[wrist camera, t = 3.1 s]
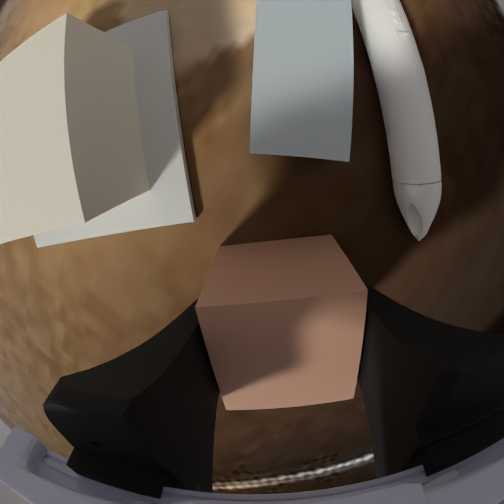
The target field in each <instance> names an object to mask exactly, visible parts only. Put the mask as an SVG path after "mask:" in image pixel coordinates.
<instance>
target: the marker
mask: <svg viewBox="0 0 504 504" xmlns="http://www.w3.org/2000/svg"><path fill="white" fill-rule="evenodd" d="M351 7H352V9H353V12H354V14H355V17H356V20H357V23H358V25H359V28H360V31H361V34H362V37H363V40H364V43H365V47H366V50H367V53H368V57H369V60H370V64H371V67H372V71H373V75H374V79H375V83H376V87H377V91H378V95H379V100H380V105H381V109H382V114H383V120H384V125H385V131H386V137H387V143H388V150H389V157H390V166H391V173H392V182H393V189H394V194H395V198H396V201H397V204H398V206H399V209H400V211H401V213H402V215H403V217H404V219H405V221H406V223H407V225H408V227H409V229H410V231H411V233H412V234H413V236H414V237H415V238H416V239H417V240H418V241H420V240H421V239H422V238H423V237H424V236H425V235H426V234H427V232H428V230H429V228H430V226H431V224H432V222H433V219H434V217H435V215H436V213H437V210H438V207H439V204H440V200H441V189H442V182H441V167H440V157H439V147H438V139H437V132H436V126H435V119H434V114H433V108H432V103H431V98H430V93H429V89H428V85H427V81H426V75H425V71H424V67H423V64H422V62H421V58H420V55H419V52H418V48H417V45H416V42H415V39H414V36H413V33H412V30H411V28H410V25H409V22H408V20H407V17H406V15H405V12H404V10H403V7H402V5H401V3H400V0H351Z"/></svg>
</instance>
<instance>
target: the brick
mask: <svg viewBox="0 0 504 504" xmlns="http://www.w3.org/2000/svg"><path fill="white" fill-rule="evenodd" d="M353 82H354V54H353V23H352V7H351V0H257V3H256V22H255V41H254V61H253V81H252V103H251V125H250V148H249V154H269V155H285V156H298V157H309V158H319V159H328V160H337V161H345V162H349V160H350V148H351V133H352V115H353Z"/></svg>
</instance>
